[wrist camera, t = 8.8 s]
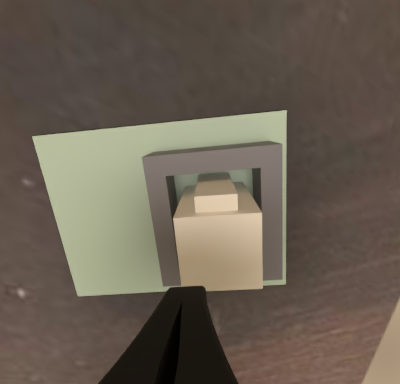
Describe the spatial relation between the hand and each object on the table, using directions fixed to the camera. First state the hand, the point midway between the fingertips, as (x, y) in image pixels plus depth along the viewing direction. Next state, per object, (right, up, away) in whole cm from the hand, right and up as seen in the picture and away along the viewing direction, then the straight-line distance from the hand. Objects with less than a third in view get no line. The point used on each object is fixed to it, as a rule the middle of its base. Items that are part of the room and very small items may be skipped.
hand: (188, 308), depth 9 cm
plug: (+2, +3, +8) cm, 9 cm away
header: (-2, +3, +9) cm, 10 cm away
